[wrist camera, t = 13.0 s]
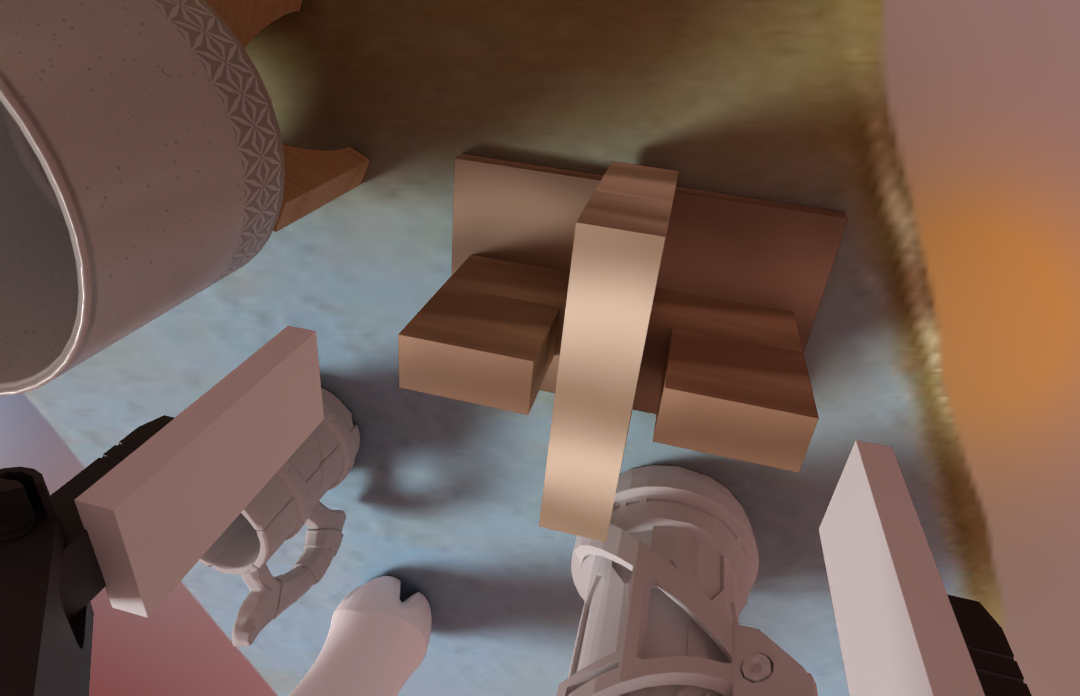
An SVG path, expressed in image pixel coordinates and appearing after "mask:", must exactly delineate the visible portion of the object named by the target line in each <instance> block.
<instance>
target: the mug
mask: <svg viewBox="0 0 1080 696" xmlns="http://www.w3.org/2000/svg"><path fill="white" fill-rule="evenodd" d="M321 392H322V403H323V414H324V420H323V421H322V422H321V423H320V424H319V425H318V426H317V427H316V429H315V430H314V431H313V432H312V433H311V434H310V435H309V436H308V438H307V439H306V440H305V441H304V442H303V443H302V444H301V445H300V447H299V448H298V449H297V450H296V451H295V452H294V453H293V454H292V456H291V457H290V458H289V459H288V460H287V461H286V462H285V464H284V465H283V466H282V467H281V468H280V469H279V470H278V471H277V473H276V474H275V475H274V476H273V477H272V478H271V479H270V480H269V482H268V483H267V484H266V485H265V486H264V487H263V488H262V489H261V491H260V492H259V493H258V494H257V495H256V496H255V497H254V498H253V500H252V501H251V502H250V503H249V504H248V505H247V506H246V507H245V509H244V510H243V511H242V512H241V513H240V514H239V515H238V516H237V518H236V519H235V520H234V521H233V522H232V523H231V524H230V525H229V527H228V528H227V529H226V530H225V531H224V532H223V533H222V534H221V536H220V537H219V538H218V539H217V540H216V541H215V542H214V543H213V545H212V546H211V547H210V548H209V549H208V550H207V551H206V553H205V554H204V555H203V556H202V557H201V558H200V559H199V560H198V561H199V562H201V563H202V564H204V565H206V566H208V567H211V566H213V567H214V569H215V570H217V571H220V572H223V573H228V574H241V575H242V577H243V579H244V581H245V583H246V584H247V585H248V587H249V590H250V591H249V594H248V596H247V597H246V599H245V600H244V602H243V603H242V605H241V607H240V609H239V612H238V615H237V618H236V621H235V623H234V626H233V631H232V642H233V645H234V646H236V647H239V646H250V645H251V644H252V643H253V641H254V640H255V638H256V637H257V635H258V634H259V632H260V631H261V630H262V629H263V628H264V627H265V626H266V625H267V624H268V623H269V622H270V621H271V620H273V619H275V618H276V617H277V616H278V615H279V614H280V613H281V612H283V611H284V610H285V609H286V608H288V607H289V606H290V605H292V604H293V603H294V602H296V601H297V600H298V598H300V597H301V596H302V595H304V594H305V593H306V592H307V591H308V590H309V589H310V587H311V586H312V585H315V584H317V583H318V582H319V581H320V580H321V578H322V577H323V575H324V574H325V572H326V570H327V568H328V567H329V565H330V564H331V563H330V562H331V561H332V559H333V557H334V556H335V555H336V553H337V551H338V549H339V547H340V544H341V541H342V538H343V534H342V533H341V531H342V528H343V525H344V522H345V519H346V515H345V512H344V511H342V510H331V509H329V508H327V507H326V506H324V505H323V504H322V503H321V502H319V500H320V499H321V497H322V496H323V495H324V494H325V493H326V492H327V490H330V489H332V488H334V487H336V486H337V485H339V484H340V483H341V482H342V481H343V480H344V479H345V477H346V476H347V475H348V474H349V472H350V471H351V469H352V467H353V465H354V461H355V455H356V454H357V452H358V450H359V446H360V434H359V429H358V426H357V425H353V424H352V414H351V412H350V411H349V410H348V409H347V407H346V406H345V405H344V404H343V403H342V402H341V401H340V400H339V399H338V398H337V397H336V396H335V395H333V394H332V393H331V392H329V391H327V390H325V389H324V388H321ZM304 524H305V525H306V526H308V527H309V530H306V539H305V544H304V547H303V548H304V552H303V554H302V556H301V557H300V558H299V559H298V561H297V563H296V564H295V565H294V566H293V568H292V570H291V571H289V572H287V573H286V574H284V575H279V576H276V577H273V576H272V575H271V573H270V571H269V569H268V568H267V566H266V562H267V561H268V559H269V558H270V557H271V556H272V555H273V554H274V553H275V552H276V551H277V549H278V548H279V547H280V546H281V545H282V544H283V542H284V541H285V540H288V539H290V538H291V537H293V536H294V535H295V534H297V533H298V531H299V530H300V529H301V528H302V526H303V525H304Z"/></svg>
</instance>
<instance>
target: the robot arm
mask: <svg viewBox="0 0 1080 696" xmlns="http://www.w3.org/2000/svg"><path fill="white" fill-rule="evenodd" d="M323 420H324V414H323V403H322V392H321V382H320V371H319V360H318V349H317V339H316V331H312V330H307V329H302V328H297V327H292V326H287V327H286V328H285V329H284V330H282V331H281V332H280V333H279V334H278V335H276V336H275V337H274V338H273V339H271V340H270V341H269V342H268V343H266V344H265V345H264V346H263V347H262V348H260V349H259V350H258V351H257V352H255V353H254V354H253V355H252V356H251V357H249V358H248V359H247V360H246V361H244V362H243V363H242V364H241V365H239V366H238V367H237V368H236V369H235V370H233V371H232V372H231V373H230V374H228V375H227V376H226V377H225V378H223V379H222V380H221V381H220V382H219V383H217V384H216V385H215V386H214V387H212V388H211V389H210V390H209V391H208V392H206V393H205V394H204V395H203V396H201V397H200V398H199V399H198V400H196V401H195V402H194V403H193V404H192V405H190V406H189V407H188V408H187V409H185V410H184V411H183V412H182V413H180V414H179V415H178V416H177V417H176V418H173V417H169V416H162V417H160V418H157V419H155V420H153V421H151V422H148V423H146V424H144V425H142V426H140V427H138V428H137V429H135V430H134V431H133V432H131V433H130V434H129V435H128V436H126V437H125V438H124V439H122V440H121V441H120V442H119V445H118V446H116V445H115V446H113V447H112V448H111V449H110V450H108V451H107V452H106V453H104V454H103V457H102V458H98V459H97V460H95V461H94V462H93V463H92V464H90V465H89V466H88V467H86V468H85V469H84V470H83V471H81V472H80V473H79V474H78V475H76V476H75V477H74V478H73V479H71V480H70V481H69V482H67V483H66V484H65V485H64V486H62V487H61V488H60V489H58V490H57V491H56V492H54V493H53V494H52V495H51V496H50V494H49V492H48V489H47V486H46V484H45V481H44V478H43V476H42V474H41V473H39V472H37V471H36V470H34V469H31V468H24V467H13V468H4V469H0V696H89V682H90V665H91V649H92V632H93V616H94V613H93V610H92V606H91V603H90V601H91V600H92V599H93V598H94V597H95V596H96V595H97V594H98V593H99V592H100V591H101V590H102V589H103V588H104V587H105V588H106V591H107V594H108V596H109V599H110V602H111V605H112V607H113V608H116V609H119V610H123V611H126V612H130V613H133V614H137V615H140V616H144V617H149V616H150V614H151V613H152V612H153V611H154V610H155V609H156V608H157V607H158V605H159V604H160V603H161V602H162V601H163V600H164V599H165V598H166V596H167V595H168V594H169V593H170V592H171V591H172V590H173V588H174V587H175V586H176V585H177V584H178V583H179V582H180V581H181V580H182V578H183V577H184V576H185V575H186V574H187V573H188V572H189V571H190V569H191V568H192V567H193V566H194V565H195V564H196V563H197V562H198V560H199V559H200V558H201V557H202V556H203V555H204V554H205V553H206V551H207V550H208V549H209V548H210V547H211V546H212V545H213V543H214V542H215V541H216V540H217V539H218V538H219V537H220V536H221V534H222V533H223V532H224V531H225V530H226V529H227V528H228V527H229V525H230V524H231V523H232V522H233V521H234V520H235V519H236V518H237V516H238V515H239V514H240V513H241V512H242V511H243V510H244V509H245V507H246V506H247V505H248V504H249V503H250V502H251V501H252V500H253V498H254V497H255V496H256V495H257V494H258V493H259V492H260V491H261V489H262V488H263V487H264V486H265V485H266V484H267V483H268V482H269V480H270V479H271V478H272V477H273V476H274V475H275V474H276V473H277V471H278V470H279V469H280V468H281V467H282V466H283V465H284V464H285V462H286V461H287V460H288V459H289V458H290V457H291V456H292V454H293V453H294V452H295V451H296V450H297V449H298V448H299V447H300V445H301V444H302V443H303V442H304V441H305V440H306V439H307V438H308V436H309V435H310V434H311V433H312V432H313V431H314V430H315V429H316V427H317V426H318V425H319V424H320V423H321V422H322V421H323ZM819 533H820V539H821V544H822V549H823V555H824V560H825V565H826V571H827V576H828V581H829V587H830V592H831V597H832V603H833V608H834V613H835V619H836V624H837V629H838V635H839V640H840V645H841V651H842V656H843V661H844V667H845V672H846V678H847V683H848V688H849V694H850V696H1031V694H1030V691H1029V689H1028V687H1027V684H1024V682H1023V679H1024V677H1023V675H1022V673H1021V671H1020V669H1019V666H1018V664H1017V662H1016V661H1014V659H1013V657H1014V655H1013V652H1012V651H1011V648H1010V646H1009V643H1008V641H1007V639H1006V637H1005V634H1004V632H1003V630H1002V628H1001V627H1000V626H999V624H998V623H997V622H996V621H995V620H994V619H993V617H992V616H991V615H990V614H989V613H988V612H987V610H986V609H985V608H984V607H983V606H982V605H981V603H980V602H977V601H973V600H968V599H964V598H960V597H955V596H951V595H947V593H946V590H945V588H944V585H943V582H942V580H941V577H940V574H939V572H938V569H937V566H936V564H935V561H934V558H933V556H932V553H931V550H930V548H929V545H928V542H927V540H926V537H925V534H924V532H923V529H922V526H921V524H920V521H919V518H918V516H917V513H916V510H915V508H914V505H913V502H912V500H911V497H910V494H909V492H908V489H907V486H906V484H905V481H904V478H903V476H902V473H901V470H900V468H899V465H898V462H897V460H896V457H895V454H894V452H893V449H892V447H888V446H883V445H878V444H873V443H868V442H863V441H858V440H856V441H855V443H854V446H853V448H852V450H851V453H850V455H849V458H848V460H847V462H846V465H845V467H844V470H843V472H842V474H841V477H840V479H839V482H838V484H837V487H836V489H835V491H834V494H833V496H832V499H831V501H830V503H829V506H828V508H827V511H826V513H825V515H824V518H823V520H822V523H821V525H820V527H819Z"/></svg>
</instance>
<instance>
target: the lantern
mask: <svg viewBox="0 0 1080 696" xmlns="http://www.w3.org/2000/svg"><path fill="white" fill-rule="evenodd" d="M758 570H759V554H758V549H757V545H756V541H755V537H754V533H753V530H752V527H751V524H750V522H749V520H748V518H747V516H746V513H745V511H744V509H743V507H742V506H741V504H740V503H739V502H738V501H737V500H736V499H735V497H734V496H733V495H732V494H731V493H730V491H729V490H728V489H727V488H725V487H724V486H722V485H721V484H719V483H718V482H717V481H715V480H714V479H712V478H711V477H709V476H706V475H703V474H700V473H697V472H694V471H691V470H688V469H685V468H682V467H679V466H663V465H650V466H645V467H639V468H634V469H630V470H628V471H626V472H624V473H622V474H620V475H619V479H618V485H617V490H616V495H615V500H614V505H613V510H612V515H611V520H610V525H609V530H608V535H607V540H606V542H603V541H598V540H594V539H590V538H586V537H582V536H578V535H577V538H576V542H575V546H574V550H573V554H572V561H571V572H572V576H573V581H574V584H575V586H576V588H577V590H578V592H579V595H580V596H581V597H582V599H583V600H584V601H585V603H584V607H583V611H582V615H581V619H580V623H579V628H578V633H577V637H576V642H575V647H574V651H573V656H572V661H571V665H570V670H569V675H568V679H566V680H565V681H564V682H562V683H561V684H559V688H558V692H557V696H818V694H817V687H816V683H815V681H814V679H813V677H812V675H811V674H810V673H807V672H806V671H805V669H804V668H803V667H802V666H801V665H800V664H799V663H798V662H796V661H795V660H794V659H793V658H792V657H791V656H789V655H788V654H787V653H786V652H785V651H784V650H782V649H781V648H780V647H779V646H778V645H777V644H775V643H774V642H773V641H772V640H771V639H769V638H768V637H767V636H766V635H765V634H764V633H762V632H761V631H760V630H759V629H755V628H751V627H747V626H742V625H739V618H738V615H739V614H740V612H741V611H742V609H743V608H744V606H745V605H746V603H747V599H748V595H749V592H750V590H751V588H752V587H753V585H754V583H755V581H756V578H757V574H758Z"/></svg>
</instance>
